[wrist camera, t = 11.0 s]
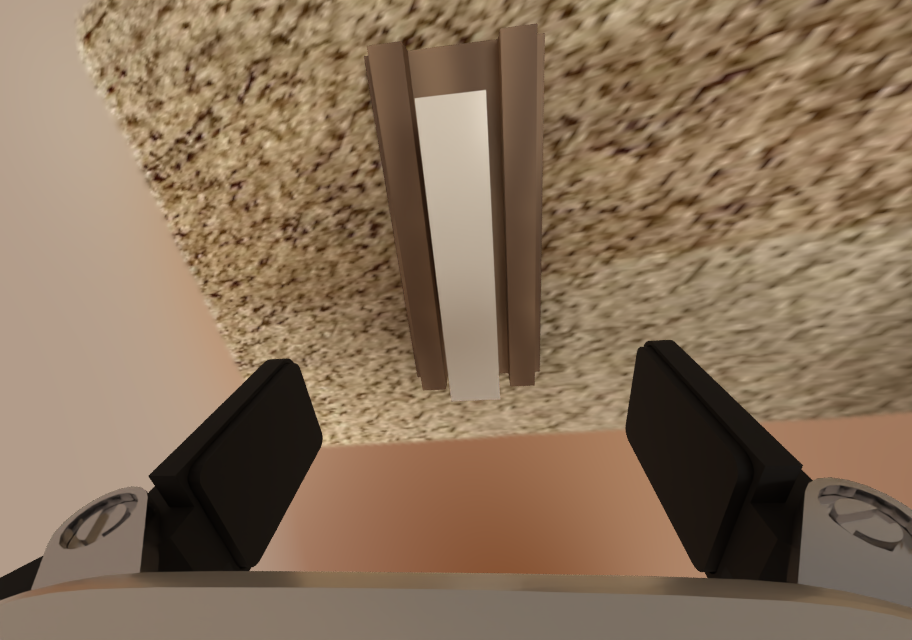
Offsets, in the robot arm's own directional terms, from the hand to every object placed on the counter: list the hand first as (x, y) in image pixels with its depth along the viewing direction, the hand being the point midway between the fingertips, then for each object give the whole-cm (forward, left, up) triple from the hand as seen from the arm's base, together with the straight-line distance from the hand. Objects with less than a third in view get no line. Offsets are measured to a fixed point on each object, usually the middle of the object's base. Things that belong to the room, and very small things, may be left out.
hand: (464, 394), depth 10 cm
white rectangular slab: (0, 0, -18) cm, 18 cm away
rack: (0, 0, -19) cm, 19 cm away
